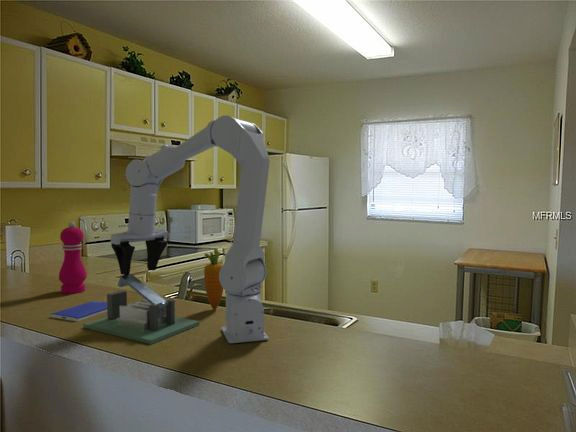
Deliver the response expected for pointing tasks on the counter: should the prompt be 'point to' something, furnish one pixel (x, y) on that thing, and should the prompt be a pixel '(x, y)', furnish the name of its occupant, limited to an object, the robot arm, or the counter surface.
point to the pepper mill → (72, 261)
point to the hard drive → (81, 311)
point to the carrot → (213, 279)
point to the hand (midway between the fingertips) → (138, 272)
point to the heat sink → (139, 316)
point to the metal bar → (142, 290)
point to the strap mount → (121, 299)
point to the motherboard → (147, 336)
